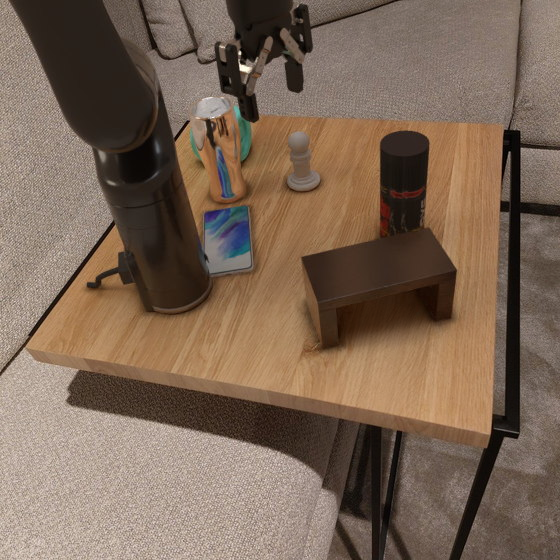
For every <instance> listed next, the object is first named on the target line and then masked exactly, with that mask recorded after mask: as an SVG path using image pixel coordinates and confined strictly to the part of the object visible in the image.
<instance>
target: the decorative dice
mask: <svg viewBox="0 0 560 560" xmlns="http://www.w3.org/2000/svg"><path fill="white" fill-rule="evenodd" d="M233 106H234V110H235V113H236V117H237V120H238V125H239V130H240V137H241V163H242V162H244V160H245V159H246V158H247V157H248V155H249V153H250V150H251V145H252V124H251V122H249V121H246V120H245V119H244V118H242V117H241V115H240V110H239V106H237V105H234V104H233ZM189 140H190V146H191V149H192V152H193V153H194V155H195V156H196V158H197V159H198V160H199V161H200V162H202V160H201V157H200V155H199V153H198V150H197V148H196V145H195V142H194V138H193V134H192V129H191V128H190V131H189Z"/></svg>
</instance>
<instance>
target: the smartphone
mask: <svg viewBox="0 0 560 560" xmlns="http://www.w3.org/2000/svg"><path fill="white" fill-rule="evenodd" d="M202 219H203V221H202V222H203V223H202V225H203V227H202V249H203V252H204V253H205V254H206V255H207V256H208V260H209V263H208V262H207V260H206V263H207V266H208V269H209V272H210V275H211V278H219V277H226V276H227V275H231V276H232V275H239V274H246V273H250V272H252V271H253V270H254V269H255V268H254V267H255V264H254V252H253V251H254V250H253V239H252V226H251V225H252V220H251V213H250V207H249V206H248V205H247V204H243V205H237V206H230V207H224V208H217V209H212V210H211V209H210V210H207V211H205V212H204V213H203V218H202Z"/></svg>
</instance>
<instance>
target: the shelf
mask: <svg viewBox="0 0 560 560" xmlns="http://www.w3.org/2000/svg"><path fill="white" fill-rule="evenodd" d="M300 261H301V262H300V263H301V270H302V277H303V286H304V293H305V303H306V305H307V309H308V311H309V314H310V318H311V320H312V322H313V323H312V324H313V326H314V329H315V331H316V335H317V337H318V340H319V343H320V346H321V348H322V350H326V349H331V348H334V347H338V346H339V345H340V344H339V342H340V341H339V328H338V315H337V308H341V307H345V306H350V305H354V304H357V303H362V302H367V301H370V300H375V299H379V298H383V297H387V296H392V295H396V294H400V293H404V292H409V291H414V290H417V291H418V293H419V296H420V297H421V298H422V300H423V302H424V304H425V306H426V307H427V310H428V311H429V312H430V315H431V316H432V318H433V320H434V322H435V323H437V322H440V321H446V320H450V319H452V316H453V308H454V299H455V293H456V292H455V291H456V283H457V275H458V269H457V268H456V266H455V264H454V263H453V261H452V259H451V258H450V257H449V255H448V253H447V252H446V250H445V249H444V247H443V245H442V244H441V243H440V241H439V240H438V238H437V237H436V235H435V234H434V232H433V231H432V229H431V228H430V226H429V227H427V226H426V227H424V228H423V229H419V230H415V231H410V232H406V233H402V234H397V235H393V236H389V237H384V238H380V237H379V238H375V239H371V240H368V241H363V242H359V243H354V244H349V245H346V246H342V247H338V248H332V249H328V250H323V251H320V252H315V253H312V254H311V253H310V254H307V255H303V256H300Z"/></svg>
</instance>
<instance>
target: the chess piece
mask: <svg viewBox="0 0 560 560" xmlns="http://www.w3.org/2000/svg"><path fill="white" fill-rule="evenodd" d="M287 145H288V148H289V150H290V151H289V160H290V162H291V163H292V169H293V171H292V172H291V173H290V174H289V175H288V176H287V179H286V184H287V186H288V187H289V189H291V190H294V191H296V192H309V191H311V190H313V189H315V188H316V187H318V186H319V184H320V182H321V176H320V174H319V173H318V172H317V171H315V170H313V169H311V160H312V150H311V149H310V148H309V147H310V145H311V144H310V136H309V135H308V134H307V133H306V132H304V131H301V130H297V131H294V132H292V133H291V134H290V135H289V137H288V139H287Z"/></svg>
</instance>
